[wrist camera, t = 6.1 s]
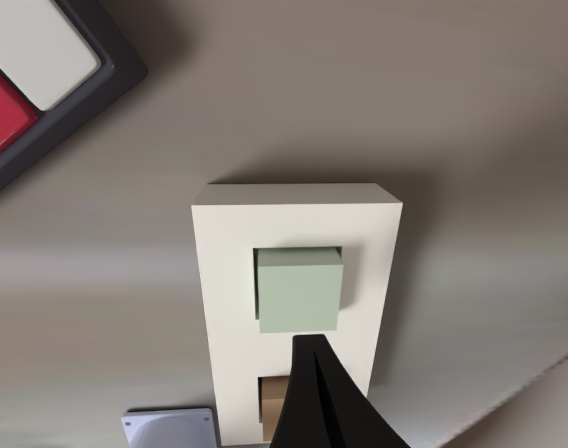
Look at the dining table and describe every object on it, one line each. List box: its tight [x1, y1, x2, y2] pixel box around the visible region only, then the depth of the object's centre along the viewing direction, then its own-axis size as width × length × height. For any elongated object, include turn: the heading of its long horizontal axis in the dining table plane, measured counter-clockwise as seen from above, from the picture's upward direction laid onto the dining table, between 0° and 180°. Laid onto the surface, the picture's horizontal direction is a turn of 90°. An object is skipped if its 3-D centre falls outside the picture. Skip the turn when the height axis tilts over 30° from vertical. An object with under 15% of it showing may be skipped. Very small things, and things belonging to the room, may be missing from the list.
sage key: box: [258, 246, 344, 333], centre depth 17 cm, size 4×4×4 cm
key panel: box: [191, 183, 403, 446], centre depth 20 cm, size 20×11×4 cm, turn 179°
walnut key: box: [262, 375, 290, 442], centre depth 21 cm, size 4×4×4 cm
